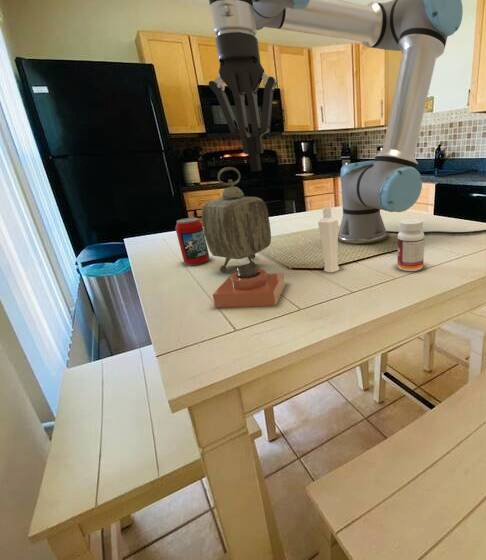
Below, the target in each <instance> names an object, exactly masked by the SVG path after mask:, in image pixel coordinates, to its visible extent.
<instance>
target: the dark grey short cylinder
mask: <svg viewBox="0 0 486 560" xmlns="http://www.w3.org/2000/svg"><path fill="white" fill-rule="evenodd" d="M258 268H259V267H258V264H256V263H255V264H249V263H244V264H241V265H239V266H237V268H236V269H237V271H236V272H238V276H239V278H252V277H255V276H257V275H259V273H258Z"/></svg>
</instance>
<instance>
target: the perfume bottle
mask: <svg viewBox="0 0 486 560" xmlns="http://www.w3.org/2000/svg"><path fill="white" fill-rule="evenodd" d="M321 210H322V216H323V217H322V218H321V219H319V220H317V223H318V231H319V236H320V243H321V250H322V255H323V262H324V268H323V272H327V273H334V272H337V271H340V265H339V264H338V263H339V261H338V258H339V257H338V256H339V255H338V254H339V251H338V248H339V246H338V245H339V244H338V243H339V220H338V219H337V218H334V217H333V215H332V208H331V207H323V208H322V209H321Z"/></svg>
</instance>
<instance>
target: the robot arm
mask: <svg viewBox="0 0 486 560" xmlns="http://www.w3.org/2000/svg"><path fill="white" fill-rule="evenodd" d="M208 2H209V9H210V15H211V20H212V21H211V22H212V27H213V32H214V34H215V35H216V37H215V46H216V52H217V57H218V62H219V69H218V76H216V78H215V79H214V80H209V81H208V86H209V88H210V89H211V90H212V92H213V93H214V94H215V96H216V98H217V101H218V104H219V107H220V108H221V111H222V114H223V116H224V119H225V121H226V124H227V127H228V129H229V131H230V133H231V135H235V136H238V137H240V140H241V145H242V151H243V154H244V155H248V159H249V166H250V172H251V173H252V172H260V171H262V163H261V162H262V161H261V154H263V153H264V144H263V136H264V135H265V134H268V133H269V132H270V131H271V122H272V113H273V112H272V111H273V110H272V109H273V100H274V92H275V90H276V88H277V85H278V81H277V79H276V78H274V77H273V76H270V75H268V73H265V69H264V68H263V65H262V63H261V55H260V49H259V48H260V47H259V41H258V38H257V37H256V35H257V31H261V30H263V29H264V28H269V29H275V30H276V29H277V30H284V31H290V32H296V33H301V34H302V33H303V34H310V35H314V36H315V35H316V36H323V37H330V38H336V39H342V40H348V41H356V42H361V43H362V45H363V46H364V47H367V48H371V49H379V50H384V51H385V50H386V51H393V52H395V51H396V52H397V51H398V52H401V53H402V54H401V58H400V62H399V68H398V73H397V77H396V82H395V88H394V93H393V96H392V101H391V107H390V112H389V116H388V121H387V124H386V125H387V126H386V130H385V134H384V139H383V144H382V150H381V151H380V152H378V153H377V154H376V155H374V160H366V161H359V162H352V163H347V164H344V165H342V166H341V168H340V177H339V180H340V187H341V188H340V189H341V203H342V219H341V222H340V226H339V229H338V241H340V242H342V243H345V244H350V245H369V244H374V243H379V242H382V241H384V240H385V239H386V238H387V234H391V235H393V234H394V235H398V233H399V232H400V231H393V230H387V229H386V227H385V224H384V220H383V218H382V215H381V211H385V212H389V213H402V212H405V211H408V210H409V209H410V208H411V207H413V206H415V204H416V203H417V201H418V200H419V198H420V196H421V194H422V189H423V180H422V179H421V178H422V175H421V173H420V172H419V171H418V166H419V164H418V163H419V162H418V161H417V160H416V157H415V154H416V149H417V145H418V141H419V140H418V139H419V137H420V133H421V132H420V131H421V128H422V122H423V118H424V115H425V114H424V113H425V109H426V105H427V100H428V96H429V92H430V87H431V83H432V79H433V74H434V70H435V67H436V61H437V59H438V58H439V57H441V56H442V55H443V54H444V52H445V50H446V44H447V41H448V37H451V36H453V35H454V34H455V33H456V32H457V31H458V30H459V29H460V26H461V24H462V21H463V2H462V0H390V1H386V2H376V1H371V2H369V3H367V4H366V5H365V4H361V3H357V2H352V1H347V0H208ZM261 83H262V86H263V87H264V88H263V99H262V111H261V119H260V110H259V104H258V94H257V93H258V90H259V88H260V86H261ZM225 85H226V87H227V88H228V89H229V90H230V92H232V98H233V101H234V106H235V113H234V111H233V109H232V106H231V104H230V101H229V98H228V96H227V93H226V92H225V89H226V87H225ZM245 96H246V99H247V107H248V113H249V119H250V125H251V133H250V130H249V129H250V128H249V123H248V122H249V121H248V117H247V110H246V103H245ZM235 114H236V117H235ZM422 232H423V233H424V235H429V234H437V235H439V234H440V235H441V234H442V235H471V234H480V233H482V234H483V233H486V229H479V230H470V231H445V230H444V231H442V230H441V231H440V230H432V231H431V230H430V231H429V230H428V231H422Z"/></svg>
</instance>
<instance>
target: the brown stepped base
mask: <svg viewBox="0 0 486 560" xmlns="http://www.w3.org/2000/svg"><path fill="white" fill-rule="evenodd" d="M258 273H259V275H257V276H255V277H252V278H239V276H238V271H236V272H233V273H232V274H231V275H229V276H228V277H227V278H226V279H225V280H224V281H223V282H222V283H221V285H220V286H219V287H218V288H217V289H215V291H214V292H213V293H212V298H213V303H214V307H215V309H225V308H226V309H228V308H252V307H253V308H254V307H255V308H256V307H275V306H276V305H277V303H278V301H279V299H280V297H281V295H282V293H283V291H284V289H285V287H286V281H285V280H286V279H285V274H284V273H283V272H282V273H280V272H279V273H267V271H266V270H265V269H264V268H259V267H258Z"/></svg>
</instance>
